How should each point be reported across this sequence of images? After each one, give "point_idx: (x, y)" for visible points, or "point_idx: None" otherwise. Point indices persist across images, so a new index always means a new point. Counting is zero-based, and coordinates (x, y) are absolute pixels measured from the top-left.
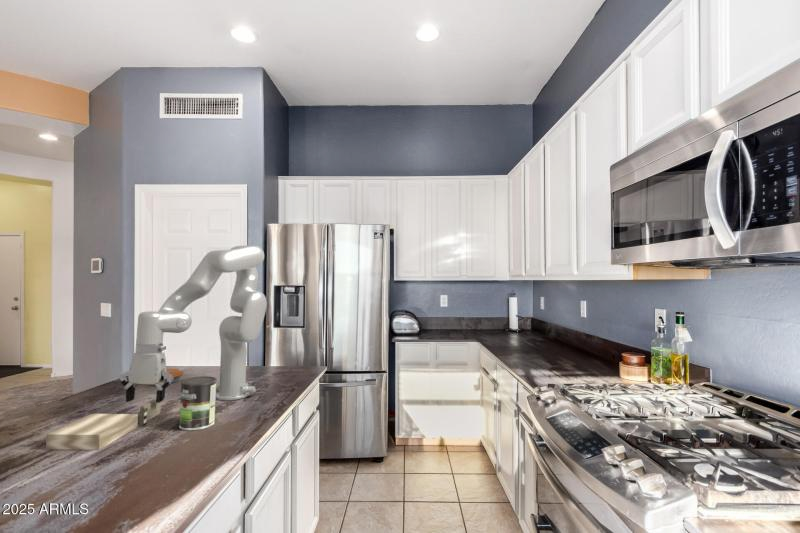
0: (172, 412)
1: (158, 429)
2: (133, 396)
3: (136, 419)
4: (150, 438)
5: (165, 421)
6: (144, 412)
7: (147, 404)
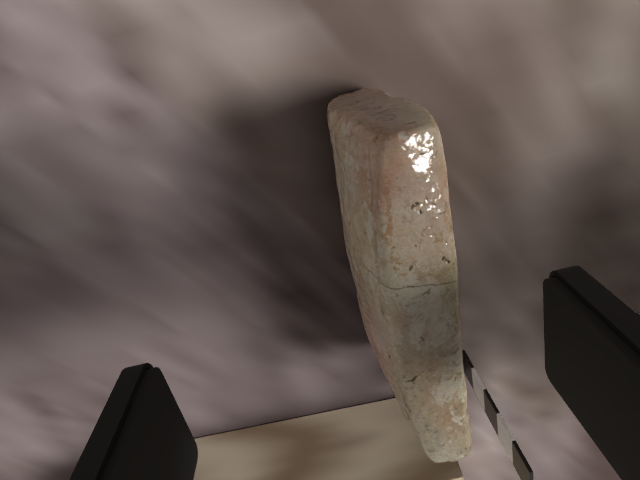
0: (490, 17)
1: None
2: (151, 410)
3: None
4: None
5: (570, 252)
6: (514, 465)
7: (465, 414)
